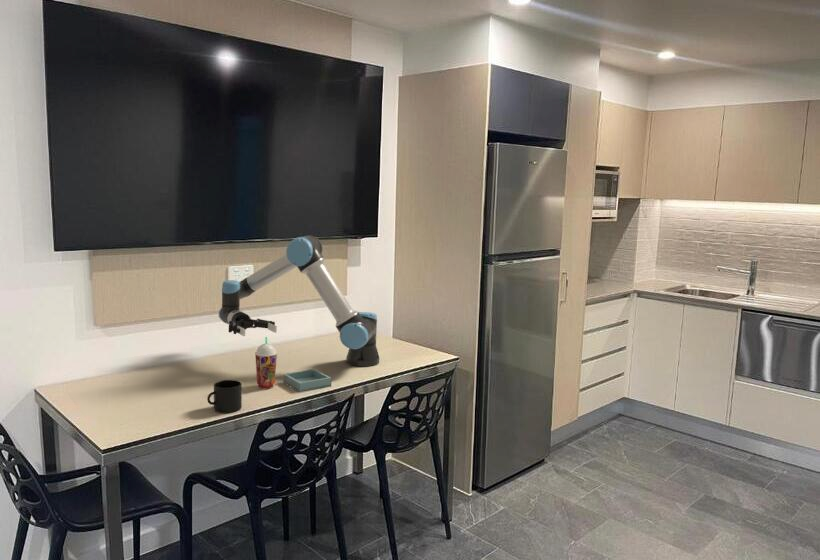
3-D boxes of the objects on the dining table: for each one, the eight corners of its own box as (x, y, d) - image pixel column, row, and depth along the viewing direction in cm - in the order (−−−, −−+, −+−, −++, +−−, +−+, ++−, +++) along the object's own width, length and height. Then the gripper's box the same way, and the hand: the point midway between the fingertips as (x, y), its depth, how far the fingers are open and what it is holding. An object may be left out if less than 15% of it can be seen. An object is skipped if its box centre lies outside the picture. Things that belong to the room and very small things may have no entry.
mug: (202, 408, 220) (202, 383, 218) (235, 402, 227) (235, 378, 226) (212, 416, 212) (212, 391, 211) (245, 410, 220) (245, 385, 218)
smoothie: (271, 390, 241) (272, 340, 238) (251, 388, 242) (251, 338, 239) (280, 384, 249) (280, 335, 246) (260, 382, 250) (260, 333, 247)
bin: (313, 376, 260) (313, 368, 259) (331, 386, 249) (331, 377, 249) (283, 382, 251) (283, 374, 251) (300, 392, 240) (300, 383, 240)
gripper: (265, 326, 278) (287, 336, 261) (210, 331, 263) (230, 343, 246) (266, 309, 277) (288, 319, 260) (211, 314, 261) (230, 324, 245)
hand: (260, 331), depth 253 cm, fingers open, 13 cm apart
